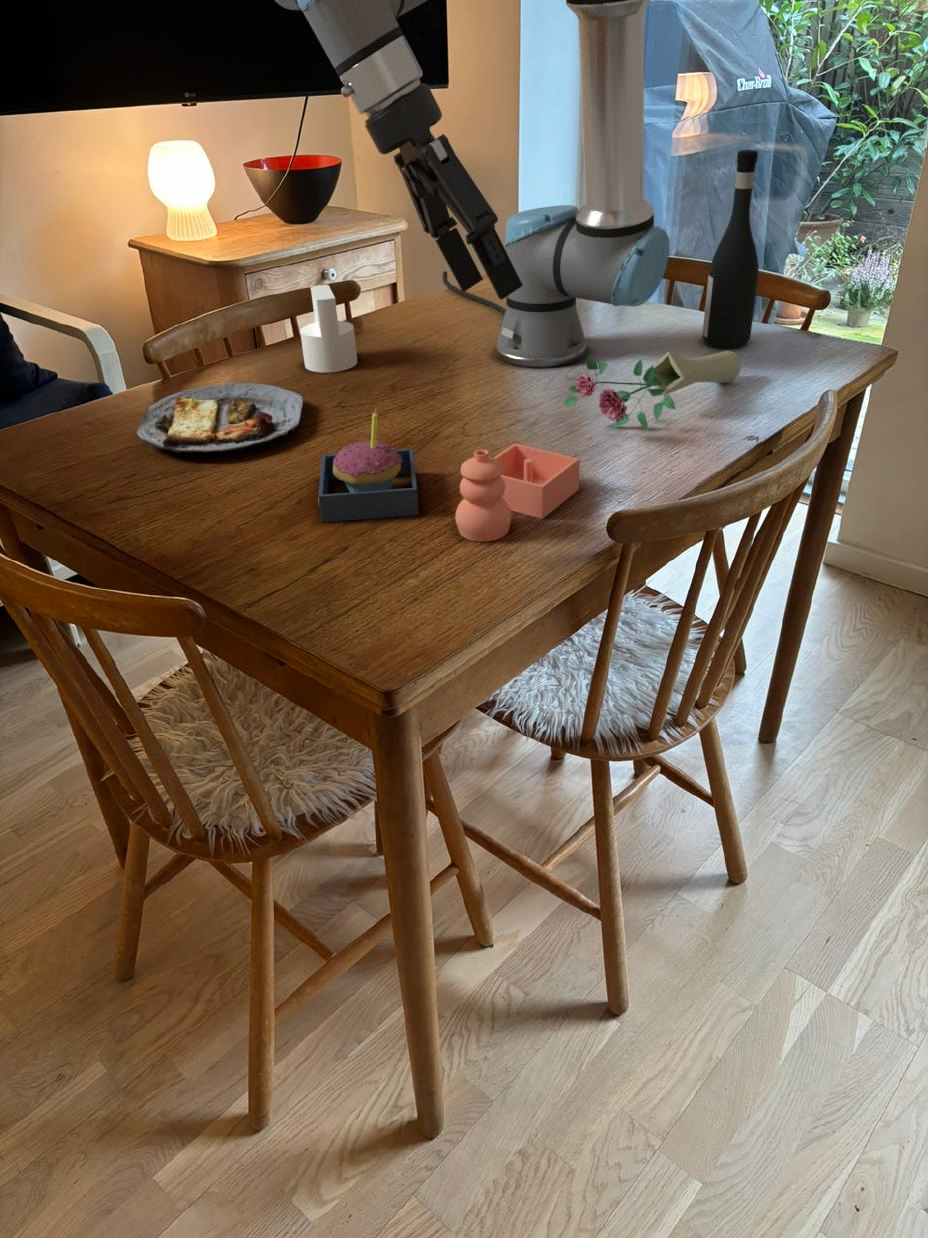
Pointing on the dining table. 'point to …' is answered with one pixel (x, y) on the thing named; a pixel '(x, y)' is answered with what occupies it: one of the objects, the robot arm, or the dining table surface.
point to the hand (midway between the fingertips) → (491, 289)
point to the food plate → (220, 417)
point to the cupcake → (367, 463)
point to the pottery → (512, 488)
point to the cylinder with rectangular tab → (327, 336)
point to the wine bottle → (734, 269)
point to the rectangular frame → (367, 496)
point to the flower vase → (657, 382)
